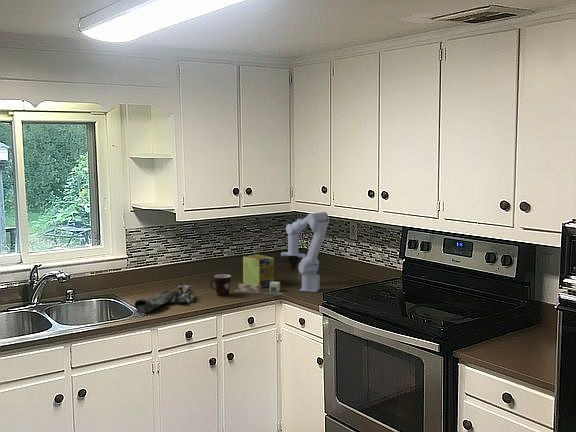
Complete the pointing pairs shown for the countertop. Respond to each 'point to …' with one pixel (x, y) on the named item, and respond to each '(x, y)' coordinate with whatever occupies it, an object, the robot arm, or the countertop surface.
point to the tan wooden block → (249, 287)
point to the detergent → (154, 301)
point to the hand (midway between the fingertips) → (293, 269)
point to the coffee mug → (222, 284)
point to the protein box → (258, 270)
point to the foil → (184, 294)
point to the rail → (260, 292)
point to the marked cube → (274, 286)
